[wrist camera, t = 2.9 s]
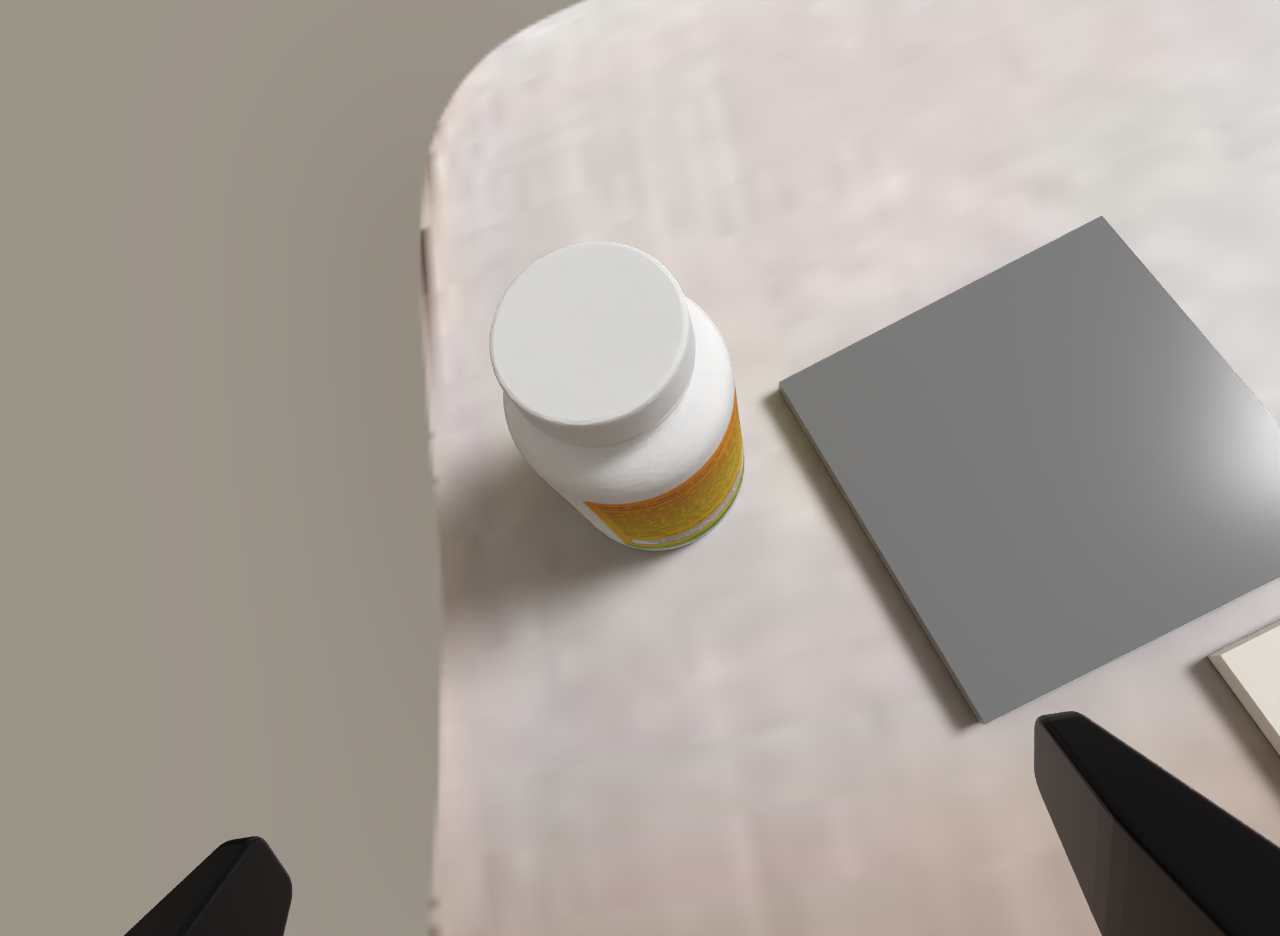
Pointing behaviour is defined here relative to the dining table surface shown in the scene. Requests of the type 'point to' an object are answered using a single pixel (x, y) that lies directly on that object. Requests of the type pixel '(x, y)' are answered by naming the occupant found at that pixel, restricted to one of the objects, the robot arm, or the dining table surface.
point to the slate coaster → (1049, 466)
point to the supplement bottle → (620, 394)
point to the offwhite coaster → (1255, 677)
